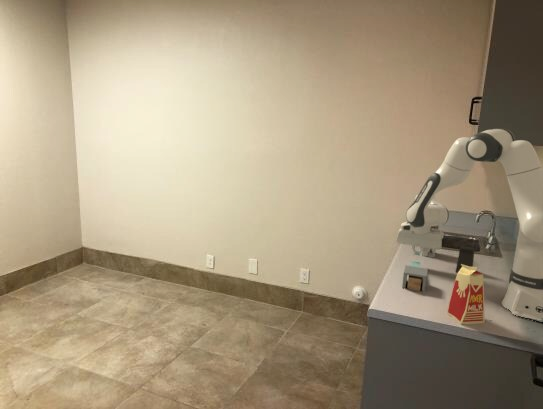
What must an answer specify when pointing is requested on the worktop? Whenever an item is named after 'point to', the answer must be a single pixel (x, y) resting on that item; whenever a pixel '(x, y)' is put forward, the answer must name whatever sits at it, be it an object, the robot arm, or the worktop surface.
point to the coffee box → (429, 251)
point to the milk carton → (467, 297)
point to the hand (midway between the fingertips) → (416, 254)
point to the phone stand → (465, 257)
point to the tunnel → (415, 272)
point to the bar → (415, 265)
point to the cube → (414, 282)
